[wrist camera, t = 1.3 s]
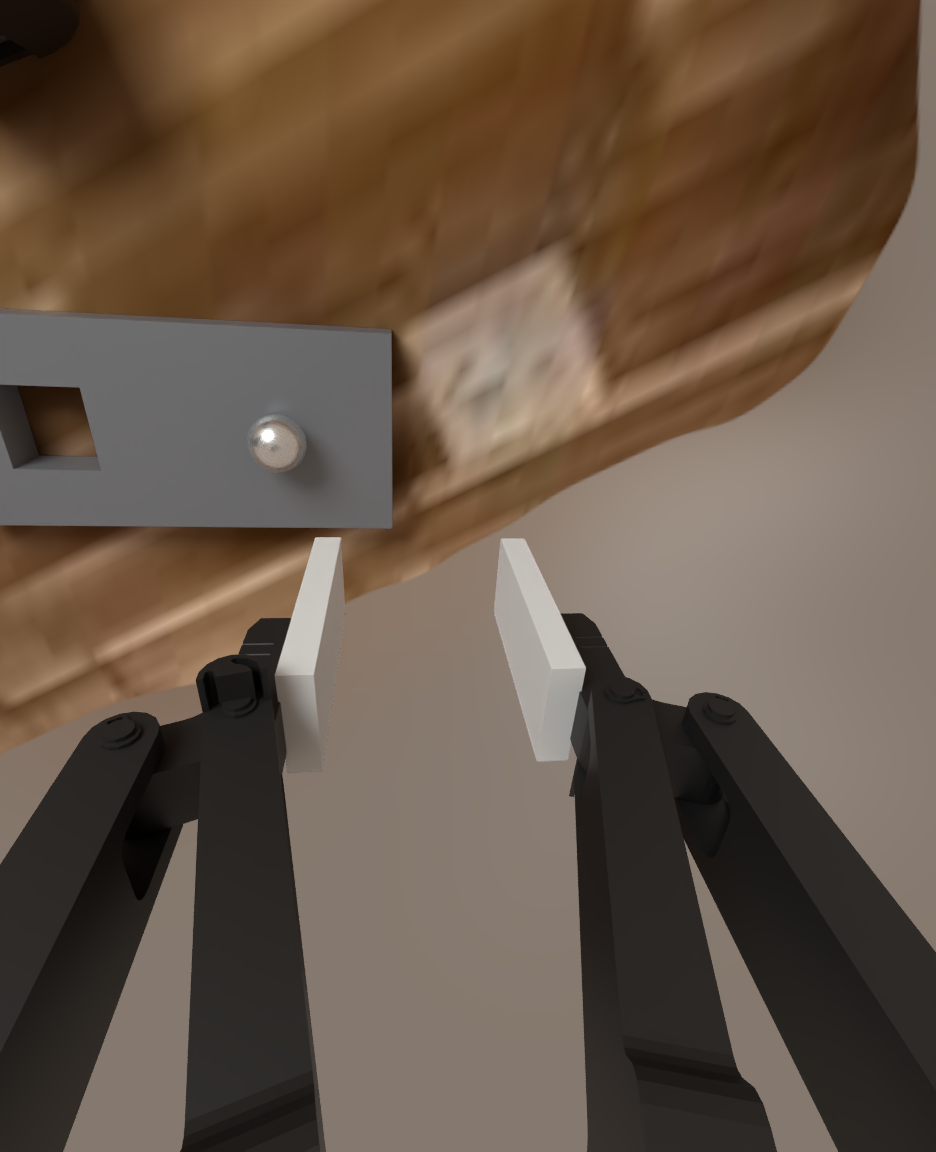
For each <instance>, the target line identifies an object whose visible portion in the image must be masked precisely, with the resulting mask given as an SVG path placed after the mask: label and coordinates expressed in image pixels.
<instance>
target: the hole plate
mask: <svg viewBox="0 0 936 1152" xmlns="http://www.w3.org/2000/svg"><path fill="white" fill-rule="evenodd" d="M17 385H26V386H52V387H79V388H80V391H81V395H82V399H83V403H84V407H85V410H86V414H87V418H88V422H89V426H90V430H91V433H92V437H93V441H94V445H95V449H96V453H97V456H98V457H86V456H42V455H39V454H38V451H37V448H36V444H35V441H34V438H33V435H32V432H31V428H30V425H29V422H28V419H27V415H26V412H25V409H24V406H23V403H22V399H21V396H20V393H19V390H18V387H17ZM270 414H280V415H284V416H287V417H289V418H291V419H292V420H294V421H295V422H296V423H297V424H298V425H299V426H300V427H301V429H302V430H303V432H304V434H305V437H306V442H307V449H306V453H305V456H304V458H303V460H302V461H301V463H300V464H299V465H298V466H297V467H295V468H294V469H292V470H289V471H286V472H272V471H268V470H266V469H264V468H262V467H261V466H259V465H258V464H257V463H256V462H255V461H254V460H253V459H252V457H251V455H250V453H249V451H248V447H247V435H248V432H249V429H250V427H251V426H252V424H253V423H254V422H255V421H256V420H258V419H259V418H261V417H263V416H265V415H270ZM392 519H393V501H392V329H379V328H360V327H341V326H322V325H304V324H285V323H266V322H247V321H229V320H210V319H191V318H172V317H154V316H135V315H116V314H97V313H79V312H60V311H41V310H22V309H4V308H0V525H35V526H155V527H275V528H392Z"/></svg>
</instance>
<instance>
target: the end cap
mask: <svg viewBox="0 0 936 1152" xmlns="http://www.w3.org/2000/svg"><path fill="white" fill-rule="evenodd" d="M78 26H79V11H78V8H77V6H76V3H75V1H74V0H0V66H3V65H6V64H8V63H11V62H13V61H16V60H19V59H21V58H24V57H26V56H29V55H31V54H34V55H36V56H38V57H40V58H42V57H44V56H46V55H49V54H51V53H53V52H55V51H56V50H58V49H60V48H61V47H62V46H64V45H65V44H66V43H67V42H68V41H70V40H71V38H72V37H73V36H74V35H75V33H76V31H77V29H78Z"/></svg>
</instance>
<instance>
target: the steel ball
mask: <svg viewBox="0 0 936 1152" xmlns="http://www.w3.org/2000/svg"><path fill="white" fill-rule="evenodd" d="M247 447H248V451H249V453H250V455H251V457H252V459H253V460H254V461H255V462H256V463H257V464H258V465H259V466H261V467H262V468H264V469H266V470H268V471H272V472H286V471H289V470H292V469H294V468H295V467H297V466H298V465H299V464H300V463H301V461H302V460H303V458H304V456H305V453H306V449H307V442H306V437H305V434H304V432H303V430H302V429H301V427H300V426H299V425H298V424H297V423H296V422H295V421H294V420H292V419H291V418H289V417H287V416H284V415H280V414H270V415H265V416H263V417H261V418H259V419H258V420H256V421H255V422H254V423H253V424H252V426H251V427H250V429H249V432H248V435H247Z"/></svg>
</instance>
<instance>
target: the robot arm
mask: <svg viewBox="0 0 936 1152" xmlns="http://www.w3.org/2000/svg"><path fill="white" fill-rule="evenodd" d="M498 563H499V564H498V573H497V583H496V594H495V604H494V615H495V618H496V622H497V625H498V629H499V632H500V636H501V639H502V643H503V646H504V650H505V653H506V656H507V660H508V664H509V667H510V671H511V674H512V677H513V681H514V684H515V688H516V691H517V695H518V699H519V702H520V705H521V709H522V712H523V716H524V719H525V723H526V726H527V730H528V733H529V737H530V740H531V744H532V747H533V751H534V754H535V758H536V761H537V762H539V761H560V760H568V757H569V751H570V746H571V743H572V745H573V748H574V751H575V754H576V756H577V762H576V766H575V771H574V776H573V780H572V785H571V790H570V795H569V796H571V797H574V795H575V811H576V835H577V836H576V837H577V862H578V863H577V864H578V889H579V915H580V941H581V964H582V965H581V966H582V992H583V1016H584V1041H585V1069H586V1094H587V1119H588V1146H587V1152H777V1150H776V1146H775V1143H774V1139H773V1135H772V1131H771V1127H770V1124H769V1121H768V1118H767V1115H766V1112H765V1108H764V1105H763V1103H762V1101H761V1099H760V1097H759V1095H758V1093H757V1092H756V1090H755V1088H754V1087H753V1086H752V1085H751V1084H749V1083H748V1082H747V1081H746V1080H744V1079H743V1078H742V1077H741V1075H740V1073H739V1071H738V1069H737V1067H736V1063H735V1060H734V1057H733V1052H732V1048H731V1043H730V1040H729V1035H728V1031H727V1026H726V1022H725V1017H724V1013H723V1009H722V1004H721V1000H720V996H719V991H718V987H717V982H716V979H715V974H714V970H713V965H712V961H711V956H710V952H709V948H708V944H707V939H706V935H705V930H704V926H703V922H702V917H701V913H700V908H699V904H698V900H697V895H696V891H695V887H694V882H693V878H692V874H691V869H690V865H689V861H688V856H687V852H686V848H685V843H684V840H685V842H686V844H687V846H688V848H689V850H690V852H691V854H692V856H693V858H694V860H695V863H696V864H697V867H698V868H699V871H700V873H701V875H702V877H703V879H704V880H705V883H706V885H707V887H708V889H709V891H710V893H711V895H712V897H713V899H714V901H715V903H716V905H717V907H718V909H719V911H720V913H721V915H722V917H723V919H724V921H725V923H726V925H727V927H728V929H729V931H730V933H731V935H732V937H733V939H734V941H735V943H736V945H737V947H738V949H739V951H740V953H741V956H742V958H743V959H744V962H745V964H746V966H747V968H748V970H749V972H750V974H751V976H752V978H753V980H754V982H755V984H756V986H757V988H758V990H759V992H760V994H761V996H762V998H763V1000H764V1002H765V1004H766V1006H767V1008H768V1010H769V1012H770V1014H771V1016H772V1018H773V1020H774V1022H775V1024H776V1026H777V1028H778V1030H779V1032H780V1034H781V1036H782V1038H783V1040H784V1042H785V1045H786V1047H787V1048H788V1051H789V1053H790V1055H791V1056H792V1059H793V1061H794V1063H795V1065H796V1067H797V1069H798V1071H799V1073H800V1075H801V1077H802V1079H803V1081H804V1083H805V1085H806V1087H807V1089H808V1091H809V1093H810V1095H811V1097H812V1099H813V1101H814V1103H815V1105H816V1107H817V1109H818V1111H819V1113H820V1115H821V1117H822V1119H823V1121H824V1123H825V1125H826V1127H827V1130H828V1132H829V1134H830V1136H831V1138H832V1140H833V1141H834V1144H835V1146H836V1147H837V1150H838V1152H936V952H935V951H934V949H933V948H932V947H931V946H930V944H929V943H928V942H927V941H926V939H925V938H924V937H923V936H922V934H921V933H920V932H919V930H918V929H917V928H916V926H915V925H914V924H913V923H912V921H911V920H910V919H909V917H908V916H907V915H906V914H905V913H904V911H903V910H902V908H901V907H900V906H899V905H898V903H897V902H896V901H895V899H894V898H893V897H892V896H891V894H890V893H889V892H888V891H887V889H886V888H885V887H884V885H883V884H882V883H881V882H880V880H879V879H878V878H877V876H876V875H875V874H874V873H873V871H872V870H871V869H870V868H869V866H868V865H867V864H866V863H865V861H864V860H863V859H862V857H861V856H860V855H859V853H858V852H857V851H856V850H855V848H854V847H853V846H852V844H851V843H850V842H849V841H848V839H847V838H846V837H845V835H844V834H843V833H842V832H841V830H840V829H839V828H838V826H837V825H836V824H835V823H834V822H833V820H832V819H831V817H830V816H829V815H828V814H827V812H826V811H825V810H824V808H823V807H822V806H821V805H820V803H819V802H818V801H817V799H816V798H815V797H814V796H813V794H812V793H811V792H810V791H809V789H808V788H807V787H806V785H805V784H804V783H803V782H802V780H801V779H800V778H799V777H798V775H797V774H796V773H795V771H794V770H793V769H792V767H791V766H790V765H789V764H788V762H787V761H786V760H785V759H784V757H783V756H782V755H781V753H780V752H779V751H778V750H777V748H776V747H775V746H774V744H773V743H772V742H771V741H770V739H769V738H768V737H767V735H766V734H765V733H764V732H763V730H762V729H761V728H760V726H759V725H758V724H757V723H756V721H755V720H754V719H753V717H752V716H751V715H750V714H749V713H748V711H747V710H746V709H745V708H744V707H742V706H741V705H740V704H739V703H737V702H736V701H734V700H732V699H730V698H729V697H726V696H723V695H720V694H716V693H707V692H705V693H699V694H695V695H694V696H693V697H691V698H690V699H689V702H688V705H687V707H682V706H677V705H671V704H667V703H662V702H659V701H655V700H652V699H651V697H650V695H649V693H648V691H647V690H646V689H645V688H644V687H643V686H642V685H641V684H640V683H638V682H635V681H634V680H632V679H630V678H626V677H625V676H624V674H623V672H622V671H621V669H620V667H619V665H618V663H617V662H616V660H615V658H614V656H613V654H612V653H611V651H610V649H609V647H607V644H606V642H605V640H604V639H603V638H602V635H601V633H600V631H599V629H598V628H597V626H596V624H595V623H594V622H593V621H591V620H590V619H589V618H587V617H586V616H585V615H584V614H581V613H576V614H575V613H574V614H560V612H559V610H558V608H557V606H556V604H555V602H554V600H553V598H552V596H551V593H550V591H549V589H548V587H547V585H546V583H545V581H544V579H543V577H542V574H541V572H540V570H539V568H538V566H537V564H536V562H535V560H534V558H533V556H532V553H531V551H530V549H529V547H528V545H527V543H526V541H525V539H505V538H501V542H500V552H499V562H498ZM344 617H345V603H344V584H343V565H342V547H341V538H340V537H315V540H314V544H313V547H312V550H311V554H310V557H309V561H308V564H307V567H306V571H305V574H304V578H303V581H302V584H301V588H300V591H299V595H298V598H297V601H296V605H295V608H294V612H293V615H292V618H261V619H260V620H259V621H258V622H256V623H255V624H254V625H253V626H252V627H251V628H250V629H249V630H248V631H247V634H246V636H245V639H244V641H243V645H242V646H241V649H240V651H239V655H229V656H226V657H222V658H218V659H216V660H214V661H213V662H211V663H209V664H207V665H206V666H205V667H204V668H203V669H202V670H201V671H199V673H198V676H197V678H196V684H197V688H198V693H199V698H200V702H201V706H202V711H203V713H201V714H199V715H197V716H195V717H192V718H189V719H186V720H183V721H179V722H175V723H171V724H166V725H163V726H160V725H159V723H158V721H157V719H156V717H154V716H152V715H150V714H148V713H142V712H130V713H123V714H118V715H116V716H113V717H110V718H108V719H105V720H103V721H102V722H100V723H99V724H97V725H95V726H94V727H92V728H91V729H90V730H89V731H88V733H87V734H86V735H85V736H84V737H83V738H82V740H81V741H80V743H79V744H78V746H77V748H76V749H75V750H74V752H73V754H72V755H71V757H70V758H69V760H68V761H67V763H66V764H65V766H64V767H63V769H62V770H61V772H60V773H59V775H58V777H57V778H56V780H55V781H54V783H53V784H52V786H51V787H50V789H49V790H48V792H47V794H46V795H45V797H44V798H43V800H42V801H41V803H40V804H39V806H38V808H37V809H36V810H35V812H34V814H33V815H32V817H31V818H30V820H29V821H28V823H27V824H26V826H25V828H24V829H23V830H22V832H21V834H20V835H19V837H18V838H17V840H16V841H15V843H14V844H13V846H12V847H11V849H10V851H9V852H8V854H7V855H6V857H5V858H4V860H3V861H2V863H1V864H0V1152H63V1150H64V1147H65V1145H66V1142H67V1139H68V1137H69V1134H70V1131H71V1129H72V1126H73V1123H74V1120H75V1118H76V1115H77V1112H78V1110H79V1107H80V1104H81V1101H82V1099H83V1096H84V1093H85V1091H86V1088H87V1085H88V1082H89V1079H90V1077H91V1074H92V1071H93V1069H94V1066H95V1063H96V1061H97V1058H98V1055H99V1052H100V1050H101V1047H102V1044H103V1042H104V1039H105V1036H106V1033H107V1031H108V1028H109V1025H110V1022H111V1020H112V1017H113V1014H114V1011H115V1009H116V1006H117V1004H118V1001H119V998H120V995H121V993H122V990H123V987H124V984H125V982H126V979H127V976H128V973H129V971H130V968H131V965H132V963H133V960H134V957H135V954H136V952H137V949H138V946H139V944H140V941H141V938H142V936H143V933H144V930H145V927H146V925H147V922H148V919H149V916H150V914H151V911H152V908H153V906H154V903H155V900H156V897H157V895H158V892H159V889H160V886H161V884H162V881H163V878H164V876H165V873H166V870H167V868H168V864H169V862H170V859H171V857H172V854H173V851H174V848H175V846H176V843H177V840H178V838H179V835H180V832H181V829H182V827H183V824H184V823H187V822H190V821H193V820H196V819H198V834H197V857H196V858H197V859H196V881H195V904H194V927H193V949H192V972H191V995H190V1018H189V1041H188V1064H187V1087H186V1110H185V1129H184V1139H183V1145H182V1149H181V1151H180V1152H326V1149H325V1141H324V1132H323V1124H322V1115H321V1106H320V1098H319V1090H318V1080H317V1072H316V1062H315V1054H314V1046H313V1036H312V1028H311V1019H310V1010H309V1003H308V993H307V984H306V976H305V968H304V958H303V949H302V941H301V932H300V924H299V915H298V906H297V897H296V888H295V880H294V871H293V863H292V854H291V846H290V837H289V828H288V819H287V810H286V801H285V793H284V785H283V778H282V772H283V767H284V762H285V758H286V765H287V772H288V773H299V772H318V771H319V772H321V771H322V770H323V764H324V757H325V750H326V743H327V736H328V729H329V722H330V715H331V708H332V701H333V694H334V687H335V680H336V673H337V666H338V659H339V653H340V645H341V639H342V638H341V637H342V632H343V625H344ZM683 838H684V839H683Z"/></svg>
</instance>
